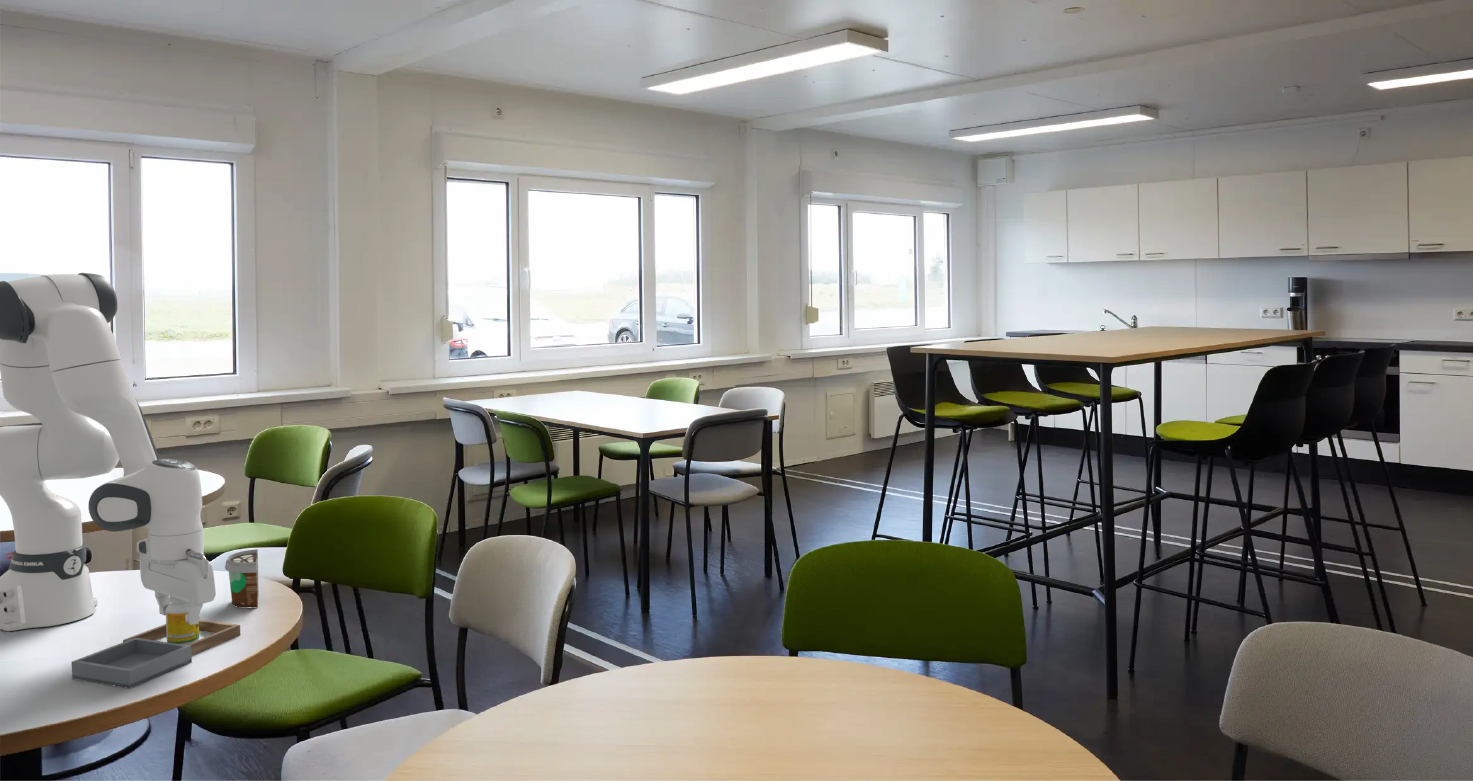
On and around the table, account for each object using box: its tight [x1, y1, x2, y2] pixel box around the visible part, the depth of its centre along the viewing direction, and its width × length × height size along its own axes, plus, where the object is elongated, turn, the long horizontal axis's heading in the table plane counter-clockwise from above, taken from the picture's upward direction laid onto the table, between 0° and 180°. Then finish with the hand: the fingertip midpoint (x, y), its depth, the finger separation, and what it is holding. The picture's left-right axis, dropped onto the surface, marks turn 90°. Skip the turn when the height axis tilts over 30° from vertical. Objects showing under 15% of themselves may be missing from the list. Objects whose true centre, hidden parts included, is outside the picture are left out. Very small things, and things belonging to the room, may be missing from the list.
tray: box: [71, 638, 193, 689], centre depth 171 cm, size 13×13×3 cm
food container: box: [224, 548, 260, 608], centre depth 208 cm, size 12×6×10 cm, turn 25°
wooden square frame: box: [122, 618, 241, 656], centre depth 185 cm, size 14×14×2 cm
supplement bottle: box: [165, 596, 200, 645], centre depth 184 cm, size 5×5×10 cm
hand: (179, 618), depth 183 cm, fingers open, 8 cm apart
